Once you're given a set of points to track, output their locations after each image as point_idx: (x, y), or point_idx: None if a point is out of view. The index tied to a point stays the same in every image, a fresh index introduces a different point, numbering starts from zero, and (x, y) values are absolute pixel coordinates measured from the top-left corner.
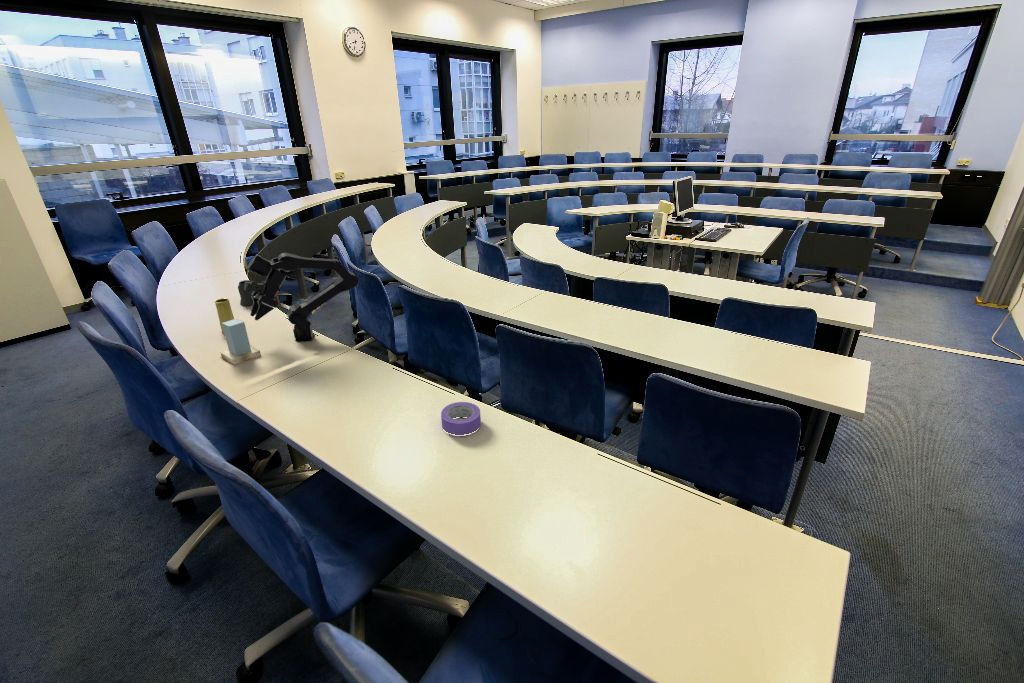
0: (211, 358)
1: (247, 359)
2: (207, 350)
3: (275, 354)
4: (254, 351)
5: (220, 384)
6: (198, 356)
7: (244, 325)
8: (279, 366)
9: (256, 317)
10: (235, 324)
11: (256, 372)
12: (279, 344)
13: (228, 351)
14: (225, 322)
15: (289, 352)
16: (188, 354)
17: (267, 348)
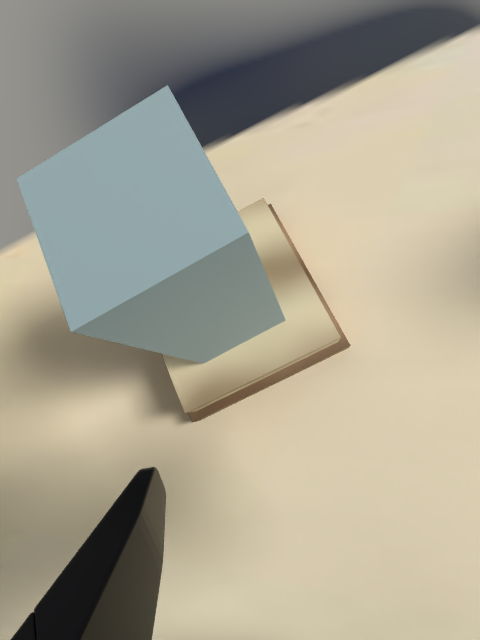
0: (319, 168)
1: None
2: (449, 130)
3: (219, 489)
4: (186, 381)
5: (29, 243)
6: (376, 105)
7: (99, 332)
8: (60, 490)
9: (124, 507)
10: (38, 237)
11: (56, 379)
12: (373, 537)
13: (258, 238)
14: (162, 121)
15: (209, 576)
16: (427, 54)
17: (334, 453)
